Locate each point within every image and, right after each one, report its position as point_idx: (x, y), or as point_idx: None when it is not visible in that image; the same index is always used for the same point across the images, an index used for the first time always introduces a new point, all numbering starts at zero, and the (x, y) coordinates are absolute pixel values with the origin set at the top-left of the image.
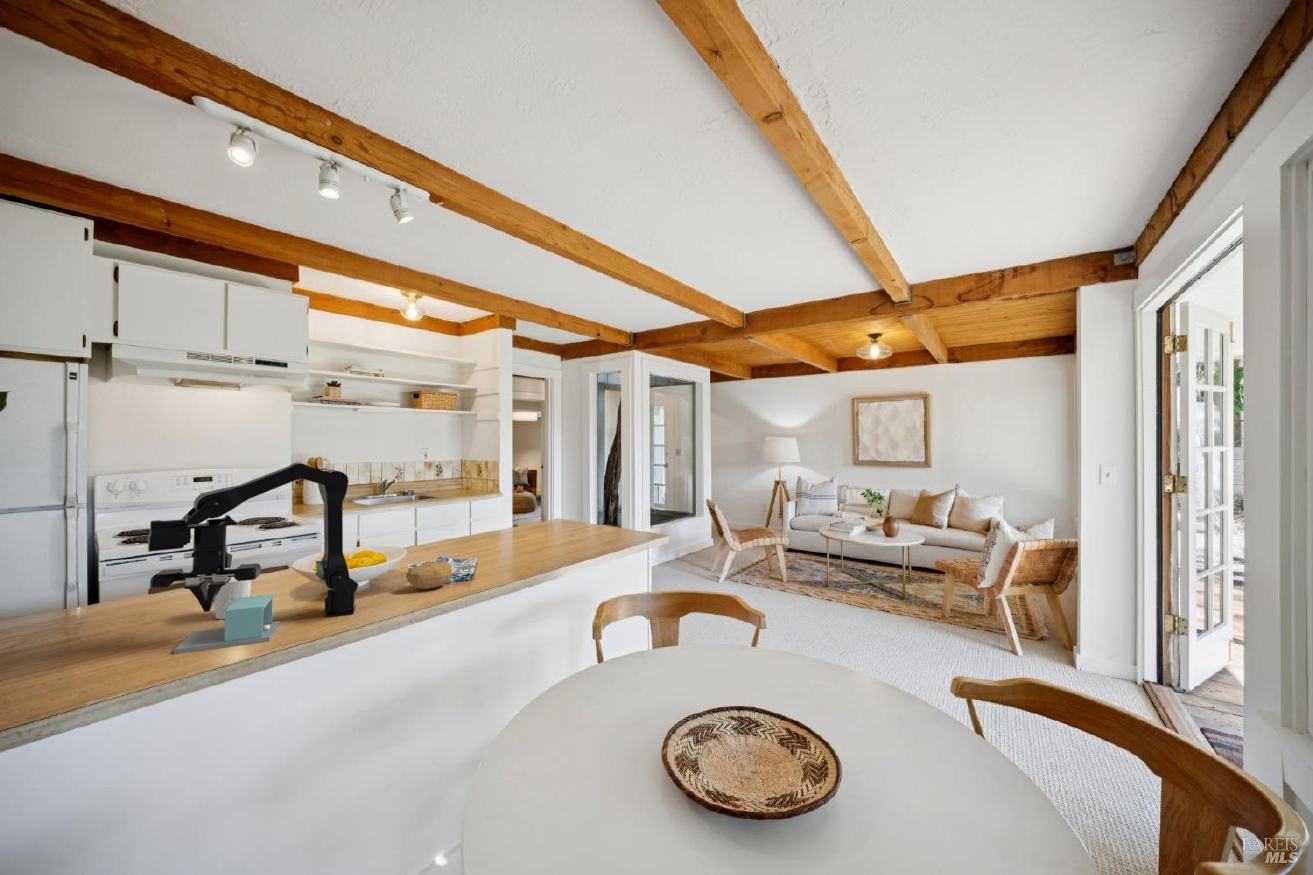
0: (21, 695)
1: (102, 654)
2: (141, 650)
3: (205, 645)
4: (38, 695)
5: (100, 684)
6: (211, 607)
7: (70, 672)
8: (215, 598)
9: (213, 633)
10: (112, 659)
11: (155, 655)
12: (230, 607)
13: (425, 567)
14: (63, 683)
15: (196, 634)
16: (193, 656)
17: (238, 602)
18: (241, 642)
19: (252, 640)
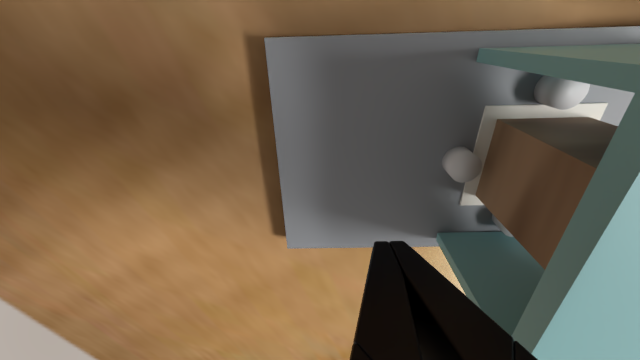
0: (87, 344)
1: (24, 155)
2: (149, 164)
3: None
4: (124, 352)
5: (214, 346)
6: (415, 252)
7: (72, 270)
8: (480, 311)
9: (376, 117)
10: (111, 216)
11: (234, 228)
12: (550, 346)
13: None
14: (122, 321)
15: (301, 101)
16: (355, 272)
17: (633, 260)
18: None
19: None
